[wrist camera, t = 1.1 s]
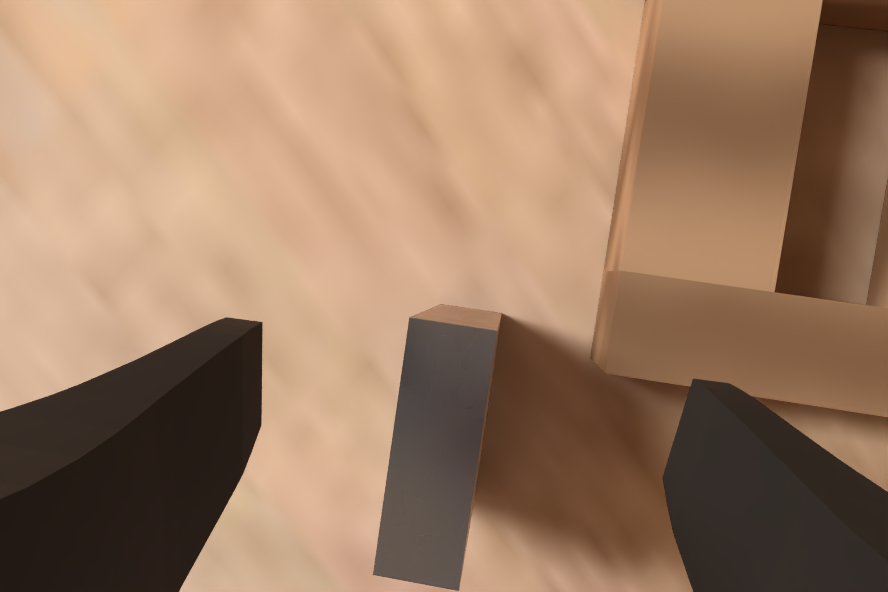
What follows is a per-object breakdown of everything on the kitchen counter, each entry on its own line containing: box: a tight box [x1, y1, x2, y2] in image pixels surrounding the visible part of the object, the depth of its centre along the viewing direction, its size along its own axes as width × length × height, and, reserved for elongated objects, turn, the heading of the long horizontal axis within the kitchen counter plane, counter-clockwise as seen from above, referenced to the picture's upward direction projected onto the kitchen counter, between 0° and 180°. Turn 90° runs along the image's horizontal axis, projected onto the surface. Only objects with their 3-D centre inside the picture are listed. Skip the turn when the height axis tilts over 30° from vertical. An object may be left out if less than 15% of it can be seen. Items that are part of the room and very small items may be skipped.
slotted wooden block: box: [591, 0, 888, 417], centre depth 20 cm, size 14×12×4 cm
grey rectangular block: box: [373, 304, 502, 591], centre depth 19 cm, size 6×2×7 cm, turn 172°
